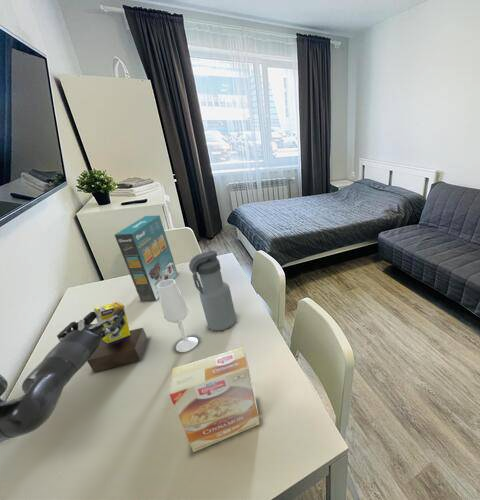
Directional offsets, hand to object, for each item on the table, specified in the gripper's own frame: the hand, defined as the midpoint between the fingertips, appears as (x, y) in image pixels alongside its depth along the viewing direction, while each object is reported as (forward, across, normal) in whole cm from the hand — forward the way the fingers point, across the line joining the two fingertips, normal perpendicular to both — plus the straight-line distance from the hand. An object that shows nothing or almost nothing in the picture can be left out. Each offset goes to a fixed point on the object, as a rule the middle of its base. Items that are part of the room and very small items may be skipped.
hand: (108, 312), depth 81 cm
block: (-2, 0, +15) cm, 15 cm away
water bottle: (+7, -29, +15) cm, 33 cm away
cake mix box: (+39, +3, +15) cm, 42 cm away
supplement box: (-2, 0, +9) cm, 10 cm away
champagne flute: (-2, -19, +15) cm, 25 cm away
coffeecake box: (-32, -37, +16) cm, 51 cm away
